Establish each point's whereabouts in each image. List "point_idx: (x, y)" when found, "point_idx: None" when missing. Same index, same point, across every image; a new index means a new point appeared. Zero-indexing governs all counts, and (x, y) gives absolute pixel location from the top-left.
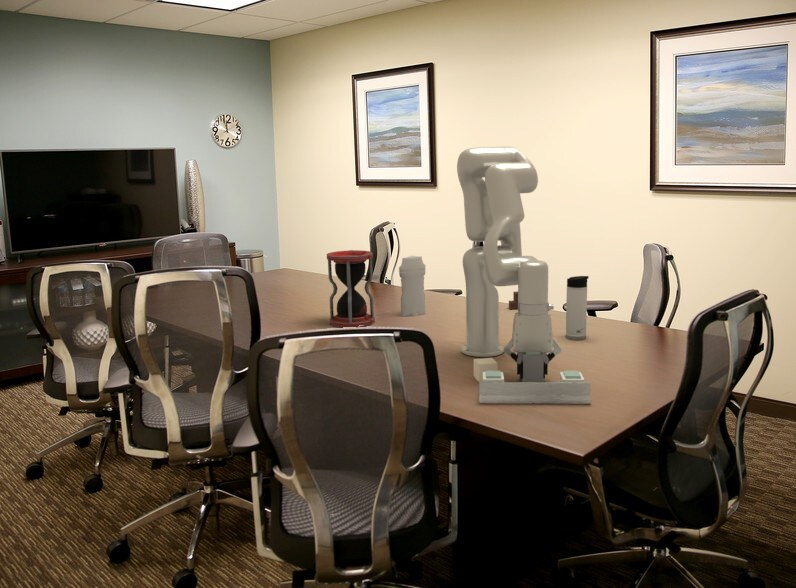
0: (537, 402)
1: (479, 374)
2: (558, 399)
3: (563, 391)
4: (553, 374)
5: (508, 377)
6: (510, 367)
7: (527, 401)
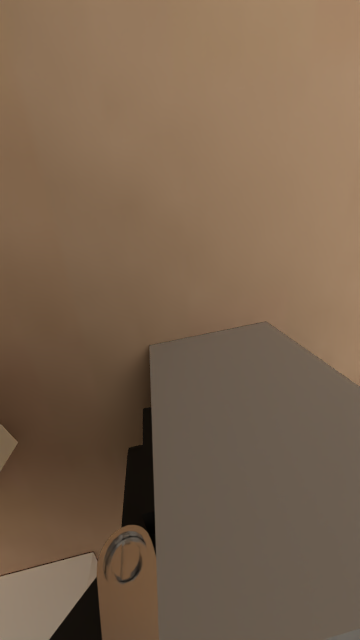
0: None
1: None
2: None
3: None
4: (351, 247)
5: (67, 368)
6: (5, 83)
7: None
